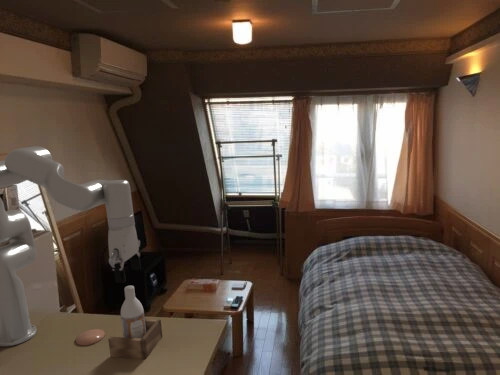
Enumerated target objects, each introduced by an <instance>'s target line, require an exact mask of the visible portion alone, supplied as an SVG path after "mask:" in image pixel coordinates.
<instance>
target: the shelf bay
mask: <svg viewBox="0 0 500 375" xmlns="http://www.w3.org/2000/svg"><path fill="white" fill-rule="evenodd" d="M145 326H146V334H145V335H144V336H143V338H126V337H123V336H109V337H108V339H107V340H108V346H109V347H108V348H109V354H110V357H112V358H126V359H140V360H146V359H147V358H148V357H149V355H150V354H151V353H152V351H153V350H154V348H156V347H157V345H158V344H159V342H160V341H161V339H162V338H163V328H162V320H161V319H153V318H152V319H151V318H145Z"/></svg>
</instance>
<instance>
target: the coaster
mask: <svg viewBox="0 0 500 375" xmlns="http://www.w3.org/2000/svg"><path fill="white" fill-rule="evenodd" d="M105 335H106V332H105V331H104V330H103V329H100V328H99V329H98V328H93V329H89V330H86V331H84V332H81V333H79V334H78V335H77V337H76V338H75V341H76V342H75V343H76V344H77V345H79V346H91V345H95V344H97V343H99V342H101V341H103V339H104V338H105V337H106V336H105Z"/></svg>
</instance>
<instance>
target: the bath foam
mask: <svg viewBox="0 0 500 375" xmlns="http://www.w3.org/2000/svg"><path fill="white" fill-rule="evenodd" d="M123 291H124V298H125V299H124V301H123V303H122V305H121V308H120V321H121V328H122V337H126V338H143V336H144V335H145V334H146V326H145V319H146V318H145V310H144V307H143V305H142V303H141V301H140V300H139V299H138V298H137V297H136V293H135V286H134V285H127V286H125V287H124V290H123Z"/></svg>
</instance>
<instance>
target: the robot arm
mask: <svg viewBox="0 0 500 375" xmlns="http://www.w3.org/2000/svg"><path fill="white" fill-rule="evenodd" d="M52 156H53V155H52V154H51V152H50V151H49V150H48V149H47V148H45V147H42V146H37V145H35V146H29V147H28V146H27V147H20V148H16V149H13V150H11V151H9V152H8V153H7V154H6V155H5V158H4V160H0V189H3V188H6V187H11V186H14V185H15V186H16V185H18V184H19V185H20V184H21V183H24V182H26V181H28V182H30V183H33V184H35V185H38V186H40V187H43V188H45V189H46V191H47V193H48V195H49V196H50V197H51V198H52V199H53V200H54V201H55V202H57V203H59V204H60V205H63V206H65V207H67V208H69V209H73V210H76V211H81V212H83V211H89V210H91V209H93V208H96V207H98V206H101V205H104V204H105V210H106V217H107V224H108V233H107V236H108V237H107V239H108V240H107V242H108V254H109V255H108V256H109V258H108V263H109V265H110V268H111V269H112V271H113V274H114V275H113V276H114V281H115V283H122V284H124V283H126V282H127V277H126V271H125V268H124V265H125V262H127V261H128V260H129V264H130V270H132V271H136V270H137V271H140V270H141V269H142V266H141V252H140V251H141V240H140V239H138V235H137V234H138V233H137V229H136V222H135V215H134V209H133V208H134V207H133V199H132V192H131V185H130V182H129V181H128V180H126V179H116V180H115V179H113V180H108V179H94V180H92V181H91V180H90V181H88V182H83V183H81V184H78V183H75V182H72V181H70V180H68V179H65V178H64V175H65V168H64V166H63V164H61V163H60V162H57V161H56V160H53V157H52ZM6 242H9V243H8V244H5V245H2V246H0V347H12V346H17V345H20V344H22V343H24V342H26V341H28V340H30V339H32V338H33V337H34V336H35V335H36V333H37V332H38V331H37V330H38V329H37V327H36V325H34V324H32V323H31V320H30V314H29V308H28V303H27V302H28V301H27V296H26V291H25V285H24V282H23V281H22V279H20V277H19V276H18V275H17V272H18V271H20V270H22V269H24V268H26V267H28V266H29V265H31V264H33V263H34V262H35V260H36V259H37V255H38V253H37V246H36V242H35V238H34V234H33V229H32V226H31V222H30V219H29V218H28V216H27V215H26V214H25V213H24V212H22V211H21V210H17V209H10V210H6V209H5V204H4V202H3V199H2V198H1V196H0V245H1V244H4V243H6Z"/></svg>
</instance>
